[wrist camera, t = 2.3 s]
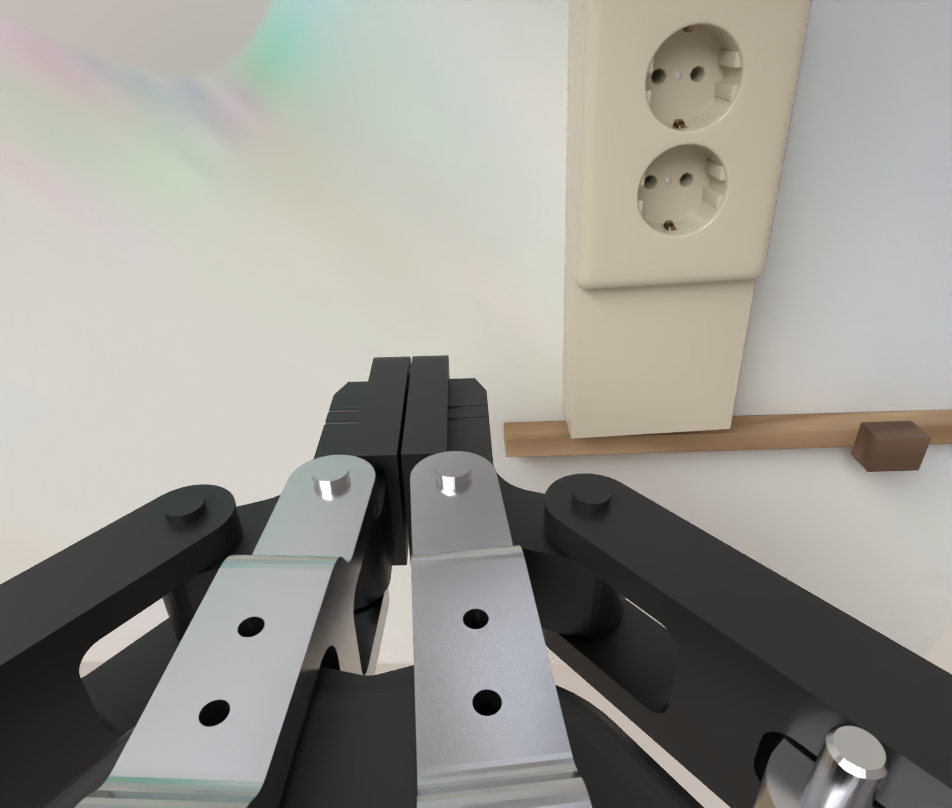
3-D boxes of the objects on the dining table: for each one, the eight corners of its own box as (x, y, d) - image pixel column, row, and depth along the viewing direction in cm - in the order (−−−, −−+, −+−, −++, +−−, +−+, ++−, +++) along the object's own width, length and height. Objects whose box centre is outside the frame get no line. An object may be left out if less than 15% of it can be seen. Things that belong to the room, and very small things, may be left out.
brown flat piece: (508, -174, 21) (516, -202, 18) (1245, -183, 21) (1354, -211, 19) (503, 446, 33) (508, 483, 30) (975, 432, 33) (1019, 467, 31)
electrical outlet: (574, 450, 29) (588, -46, 20) (561, 403, 32) (568, -36, 23) (738, 440, 29) (828, -60, 20) (706, 394, 32) (770, -49, 23)
